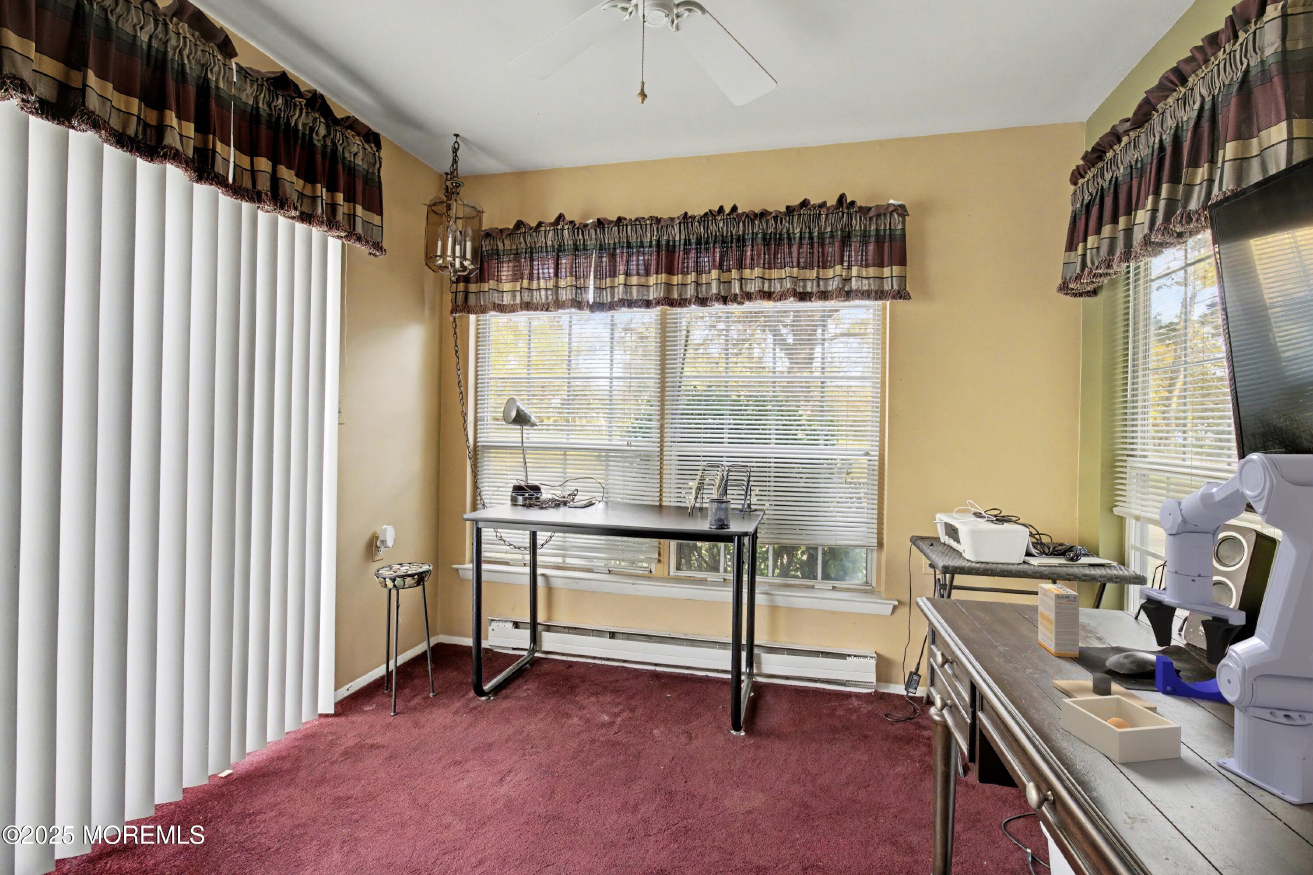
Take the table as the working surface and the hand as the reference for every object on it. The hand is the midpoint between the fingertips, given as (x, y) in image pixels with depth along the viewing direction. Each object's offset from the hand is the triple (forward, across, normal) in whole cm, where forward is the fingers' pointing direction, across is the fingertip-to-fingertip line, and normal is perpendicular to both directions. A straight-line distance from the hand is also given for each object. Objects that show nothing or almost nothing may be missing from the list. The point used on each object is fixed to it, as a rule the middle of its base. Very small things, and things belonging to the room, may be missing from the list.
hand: (1188, 654), depth 99 cm
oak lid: (+9, -7, -10) cm, 15 cm away
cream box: (+9, +5, -21) cm, 23 cm away
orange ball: (+7, +5, -21) cm, 22 cm away
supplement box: (+10, -27, +3) cm, 29 cm away
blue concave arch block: (+10, -4, +9) cm, 14 cm away
